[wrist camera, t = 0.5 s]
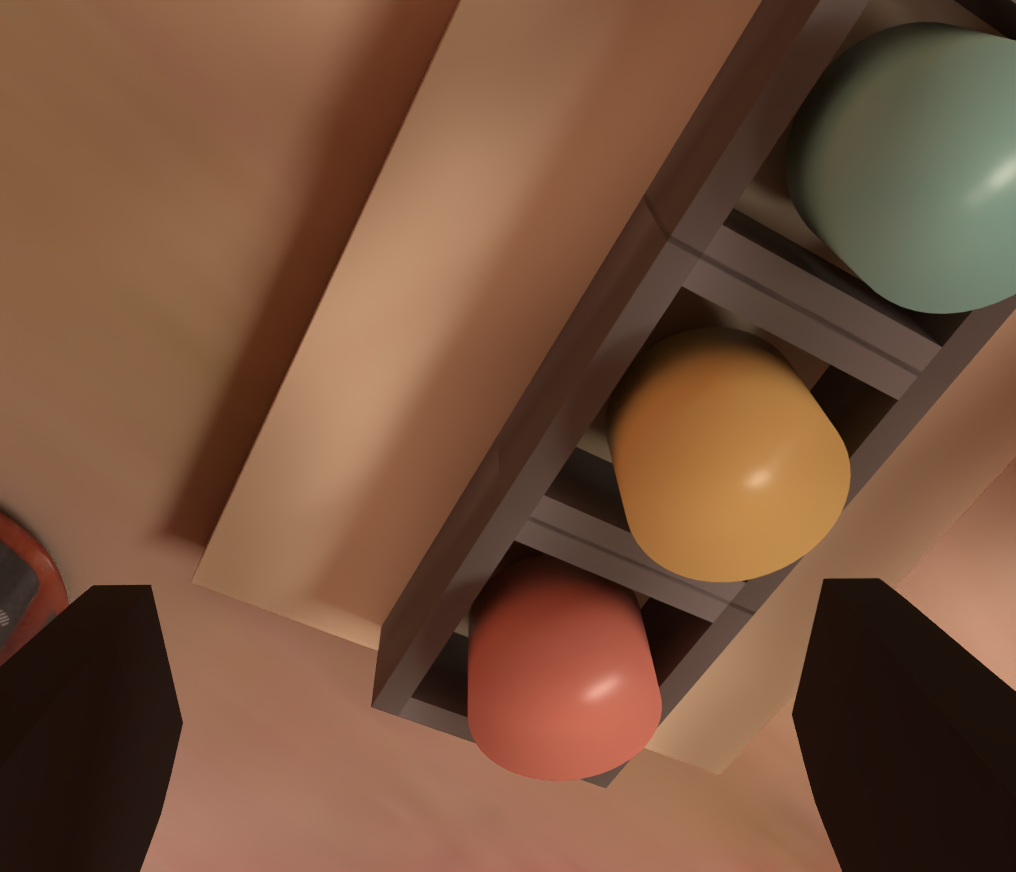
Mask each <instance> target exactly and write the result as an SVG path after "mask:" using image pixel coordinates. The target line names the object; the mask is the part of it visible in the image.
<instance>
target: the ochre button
mask: <svg viewBox="0 0 1016 872" xmlns="http://www.w3.org/2000/svg"><path fill="white" fill-rule="evenodd" d="M605 430H606V437H607V442H608V447H609V451H610V455H611V459H612V463H613V467H614V470H615V474H616V478H617V482H618V486H619V490H620V494H621V498H622V502H623V506H624V510H625V514H626V518H627V522H628V525H629V528H630V530H631V533H632V535H633V536H634V538H635V540H636V542H637V543H638V545H639V546H640V547H641V548H642V550H643V551H644V552H645V553H646V554H647V555H648V556H649V557H650V558H651V559H652V560H653V561H655V562H656V563H658V564H659V565H661V566H662V567H663V568H665V569H667V570H669V571H671V572H673V573H675V574H678V575H681V576H684V577H686V578H690V579H695V580H699V581H707V582H735V581H743V580H748V579H753V578H757V577H761V576H764V575H767V574H770V573H772V572H775V571H777V570H780V569H782V568H784V567H786V566H788V565H789V564H791V563H793V562H795V561H796V560H798V559H799V558H801V557H802V556H804V555H805V554H807V553H808V552H809V551H810V550H811V549H813V548H814V547H815V546H816V545H817V544H818V543H819V542H820V541H821V540H822V539H823V538H824V537H825V536H826V535H827V533H828V532H829V531H830V530H831V528H832V527H833V526H834V524H835V523H836V521H837V519H838V517H839V516H840V514H841V512H842V510H843V507H844V505H845V502H846V499H847V496H848V492H849V487H850V478H851V473H850V462H849V457H848V452H847V450H846V447H845V445H844V442H843V440H842V439H841V437H840V435H839V434H838V432H837V430H836V429H835V428H834V426H833V425H832V423H831V422H830V420H829V419H828V417H827V416H826V415H825V413H824V412H823V410H822V409H821V407H820V406H819V404H818V403H817V402H816V400H815V399H814V397H813V396H812V394H811V393H810V391H809V390H808V389H807V387H806V386H805V384H804V383H803V381H802V380H801V379H800V377H799V376H798V374H797V373H796V371H795V370H794V368H793V367H792V366H791V364H790V363H789V361H788V360H787V359H786V358H785V356H784V355H783V354H782V353H781V352H780V351H779V350H778V349H777V348H775V347H774V346H773V345H772V344H770V343H769V342H767V341H766V340H764V339H762V338H760V337H758V336H756V335H754V334H751V333H749V332H745V331H742V330H738V329H732V328H725V327H708V328H698V329H693V330H689V331H684V332H681V333H679V334H676V335H673V336H670V337H668V338H666V339H664V340H662V341H660V342H658V343H656V344H655V345H653V346H652V347H650V348H649V349H647V350H646V351H644V352H643V353H642V354H641V355H640V356H638V357H637V358H636V359H635V360H634V361H633V362H632V363H631V364H630V365H629V367H628V368H627V370H626V371H625V373H624V374H623V376H622V377H621V379H620V380H619V382H618V384H617V385H616V387H615V388H614V390H613V391H612V394H611V396H610V399H609V402H608V406H607V410H606V418H605Z"/></svg>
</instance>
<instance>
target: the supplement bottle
mask: <svg viewBox="0 0 1016 872" xmlns="http://www.w3.org/2000/svg"><path fill="white" fill-rule="evenodd" d="M68 606H69V604H68V597H67V592H66V588H65V585H64V583H63V580H62V577H61V575H60V573H59V571H58V569H57V567H56V565H55V563H54V562H53V560H52V558H51V557H50V555H49V554H48V552H47V551H46V550H45V549H44V547H43V546H42V545H41V544H40V543H38V541H37V540H36V539H35V538H34V537H33V536H32V535H31V534H30V533H29V532H28V531H27V530H26V529H24V528H23V527H21V526H20V525H19V524H18V523H16V522H15V521H13V520H12V519H11V518H9V517H8V516H6V515H4V514H3V513H1V512H0V666H1V665H2V664H4V663H5V662H6V661H7V660H8V659H9V658H10V657H11V656H13V655H14V654H15V653H16V652H17V651H18V650H19V649H20V648H22V647H23V646H24V645H25V644H26V643H27V642H28V641H29V640H31V639H32V638H33V637H34V636H35V635H36V634H37V633H38V632H40V631H41V630H42V629H43V628H44V627H45V626H46V625H47V624H49V623H50V622H51V621H52V620H53V619H54V618H55V617H56V616H58V615H59V614H60V613H61V612H62V611H63V610H64V609H66V608H67V607H68Z"/></svg>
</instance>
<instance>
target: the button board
mask: <svg viewBox="0 0 1016 872" xmlns="http://www.w3.org/2000/svg"><path fill="white" fill-rule="evenodd" d="M914 22H940V23H945V24H950V25H955V26H959V27H963V28H967V29H971V30H975V31H979V32H983V33H987V34H991V35H995V36H999V37H1003V38H1007V39H1011V40H1015V41H1016V0H459V1H458V3H457V5H456V8H455V10H454V12H453V14H452V16H451V18H450V21H449V23H448V25H447V27H446V29H445V31H444V34H443V36H442V38H441V40H440V42H439V44H438V46H437V49H436V51H435V53H434V55H433V57H432V59H431V62H430V64H429V66H428V68H427V70H426V72H425V75H424V77H423V79H422V81H421V83H420V85H419V88H418V90H417V92H416V94H415V96H414V98H413V100H412V103H411V105H410V107H409V109H408V111H407V113H406V116H405V118H404V120H403V122H402V124H401V126H400V129H399V131H398V133H397V135H396V137H395V139H394V141H393V144H392V146H391V148H390V150H389V152H388V154H387V157H386V159H385V161H384V163H383V165H382V167H381V170H380V172H379V174H378V176H377V178H376V180H375V183H374V185H373V187H372V189H371V191H370V193H369V195H368V198H367V200H366V202H365V204H364V206H363V208H362V211H361V213H360V215H359V217H358V219H357V221H356V224H355V226H354V228H353V230H352V232H351V234H350V236H349V239H348V241H347V243H346V245H345V247H344V249H343V252H342V254H341V256H340V258H339V260H338V262H337V265H336V267H335V269H334V271H333V273H332V275H331V277H330V280H329V282H328V284H327V286H326V288H325V290H324V293H323V295H322V297H321V299H320V301H319V303H318V306H317V308H316V310H315V312H314V314H313V316H312V319H311V321H310V323H309V325H308V327H307V329H306V331H305V334H304V336H303V338H302V340H301V342H300V344H299V347H298V349H297V351H296V353H295V355H294V357H293V360H292V362H291V364H290V366H289V368H288V370H287V372H286V375H285V377H284V379H283V381H282V383H281V385H280V388H279V390H278V392H277V394H276V396H275V398H274V401H273V403H272V405H271V407H270V409H269V411H268V414H267V416H266V418H265V420H264V422H263V424H262V426H261V429H260V431H259V433H258V435H257V437H256V439H255V442H254V444H253V446H252V448H251V450H250V452H249V455H248V457H247V459H246V461H245V463H244V465H243V467H242V470H241V472H240V474H239V476H238V478H237V480H236V483H235V485H234V487H233V489H232V491H231V493H230V496H229V498H228V500H227V502H226V504H225V506H224V508H223V511H222V513H221V515H220V517H219V519H218V521H217V524H216V526H215V528H214V530H213V532H212V534H211V537H210V539H209V541H208V543H207V545H206V547H205V550H204V552H203V554H202V557H201V559H200V562H199V564H198V566H197V569H196V571H195V574H194V576H193V578H192V581H191V583H192V584H195V585H198V586H201V587H203V588H206V589H209V590H212V591H214V592H217V593H220V594H223V595H225V596H228V597H231V598H234V599H236V600H239V601H242V602H245V603H247V604H250V605H253V606H256V607H258V608H261V609H264V610H267V611H269V612H272V613H275V614H278V615H280V616H283V617H286V618H289V619H291V620H294V621H297V622H300V623H302V624H305V625H308V626H311V627H313V628H316V629H319V630H322V631H324V632H327V633H330V634H333V635H335V636H338V637H341V638H344V639H346V640H349V641H352V642H355V643H357V644H360V645H363V646H366V647H368V648H371V649H374V650H376V651H378V656H377V664H376V672H375V680H374V688H373V696H372V704H371V707H373V708H375V709H378V710H381V711H384V712H387V713H390V714H393V715H396V716H399V717H401V718H404V719H407V720H410V721H413V722H416V723H419V724H422V725H425V726H427V727H430V728H433V729H436V730H439V731H442V732H445V733H448V734H451V735H453V736H456V737H459V738H462V739H465V740H468V741H471V742H474V743H476V742H475V741H474V739H473V737H472V735H471V732H470V729H469V724H468V618H469V613H470V609H471V606H472V603H473V602H474V600H475V599H476V597H477V596H478V594H479V593H480V591H481V590H482V588H483V587H484V585H485V584H486V583H487V582H488V581H489V580H490V579H491V578H492V577H493V576H494V575H496V574H497V573H498V572H500V571H501V570H503V569H505V568H507V567H508V566H510V565H512V564H515V563H517V562H519V561H522V560H525V559H529V558H532V557H537V556H542V555H551V556H553V557H556V558H558V559H561V560H563V561H565V562H568V563H570V564H573V565H575V566H577V567H580V568H582V569H585V570H587V571H589V572H592V573H594V574H597V575H599V576H601V577H604V578H606V579H609V580H611V581H613V582H616V583H618V584H621V585H623V586H625V587H628V588H630V589H633V591H634V593H635V595H636V597H637V600H638V602H639V607H640V611H641V615H642V619H643V623H644V628H645V632H646V636H647V640H648V644H649V649H650V653H651V657H652V661H653V665H654V670H655V674H656V678H657V682H658V686H659V691H660V695H661V700H662V712H661V718H660V722H659V724H658V727H657V729H656V731H655V733H654V735H653V737H652V738H651V739H650V741H649V742H648V743H647V745H646V746H645V747H644V748H646V749H648V750H651V751H654V752H657V753H659V754H662V755H665V756H668V757H670V758H673V759H676V760H679V761H681V762H684V763H687V764H690V765H692V766H695V767H698V768H701V769H703V770H706V771H709V772H712V773H714V774H717V775H720V774H721V773H722V772H723V771H724V770H725V768H726V767H727V766H728V765H729V764H730V763H731V762H732V761H733V760H734V759H735V758H736V757H737V756H738V755H739V753H740V752H741V751H742V750H743V749H744V748H745V747H746V746H747V745H748V744H749V743H750V742H751V741H752V740H753V738H754V737H755V736H756V735H757V734H758V733H759V732H760V731H761V730H762V729H763V728H764V727H765V726H766V724H767V723H768V722H769V721H770V720H771V719H772V718H773V717H774V716H775V715H776V714H777V713H778V712H779V711H780V709H781V708H782V707H783V706H784V705H785V704H786V703H787V702H788V701H789V700H790V699H791V698H792V697H793V696H794V694H795V693H796V692H797V690H798V686H799V682H800V678H801V673H802V669H803V665H804V660H805V656H806V652H807V647H808V643H809V639H810V635H811V630H812V626H813V622H814V617H815V613H816V609H817V604H818V600H819V596H820V591H821V587H822V583H823V579H826V578H880V579H881V580H882V581H884V582H885V583H886V584H888V585H889V586H890V587H891V588H894V587H895V586H896V585H897V584H898V583H899V582H900V581H901V580H902V579H903V578H904V576H905V575H906V574H907V573H908V572H909V571H910V570H911V569H912V568H913V567H914V566H915V565H916V564H917V563H918V561H919V560H920V559H921V558H922V557H923V556H924V555H925V554H926V553H927V552H928V551H929V550H930V549H931V548H932V546H933V545H934V544H935V543H936V542H937V541H938V540H939V539H940V538H941V537H942V536H943V535H944V534H945V532H946V531H947V530H948V529H949V528H950V527H951V526H952V525H953V524H954V523H955V522H956V521H957V520H958V519H959V517H960V516H961V515H962V514H963V513H964V512H965V511H966V510H967V509H968V508H969V507H970V506H971V505H972V504H973V502H974V501H975V500H976V499H977V498H978V497H979V496H980V495H981V494H982V493H983V492H984V491H985V490H986V489H987V487H988V486H989V485H990V484H991V483H992V482H993V481H994V480H995V479H996V478H997V477H998V476H999V475H1000V473H1001V472H1002V471H1003V470H1004V469H1005V468H1006V467H1007V466H1008V465H1009V464H1010V463H1011V462H1012V461H1013V460H1014V458H1015V457H1016V294H1015V295H1013V296H1011V297H1008V298H1006V299H1004V300H1002V301H1000V302H997V303H995V304H992V305H989V306H986V307H983V308H979V309H975V310H970V311H966V312H958V313H948V314H940V313H926V312H919V311H914V310H911V309H907V308H904V307H901V306H899V305H897V304H894V303H892V302H890V301H888V300H886V299H885V298H884V297H882V296H881V295H879V294H878V293H876V292H875V291H874V290H873V289H872V288H871V287H870V286H868V285H867V284H866V283H865V282H864V281H863V280H862V279H861V278H860V277H859V276H858V275H857V274H856V273H855V272H854V271H853V270H852V269H851V268H850V267H849V266H848V265H846V264H845V263H844V262H843V261H842V260H841V259H840V258H839V257H838V256H837V255H836V254H835V253H834V252H833V251H832V250H831V249H830V248H829V247H828V246H827V245H826V244H825V243H824V242H823V241H821V240H820V239H819V238H818V237H817V236H816V235H815V234H814V233H813V232H812V231H811V230H810V229H809V228H808V227H807V225H806V224H805V223H804V222H803V220H802V219H801V217H800V216H799V214H798V212H797V210H796V209H795V207H794V204H793V201H792V199H791V196H790V193H789V189H788V184H787V178H786V150H787V145H788V139H789V134H790V131H791V128H792V125H793V121H794V119H795V116H796V114H797V112H798V110H799V108H800V106H801V105H802V103H803V102H804V100H805V98H806V97H807V95H808V94H809V92H810V91H811V89H812V88H813V86H814V85H815V83H816V82H817V80H818V79H819V77H820V76H821V74H822V73H823V72H824V71H825V69H826V68H827V67H828V66H829V65H830V64H831V63H832V62H833V61H834V60H836V59H837V58H838V57H839V56H840V55H841V54H842V53H844V52H845V51H846V50H848V49H849V48H850V47H852V46H853V45H855V44H856V43H858V42H859V41H861V40H863V39H865V38H867V37H869V36H871V35H872V34H874V33H877V32H879V31H882V30H885V29H887V28H890V27H893V26H898V25H902V24H906V23H914ZM708 327H725V328H732V329H738V330H742V331H745V332H749V333H751V334H754V335H756V336H758V337H760V338H762V339H764V340H766V341H767V342H769V343H770V344H772V345H773V346H774V347H775V348H777V349H778V350H779V351H780V352H781V353H782V354H783V355H784V356H785V358H786V359H787V360H788V361H789V363H790V364H791V366H792V367H793V368H794V370H795V371H796V373H797V374H798V376H799V377H800V379H801V380H802V381H803V383H804V384H805V386H806V387H807V389H808V390H809V391H810V393H811V394H812V396H813V397H814V399H815V400H816V402H817V403H818V404H819V406H820V407H821V409H822V410H823V412H824V413H825V415H826V416H827V417H828V419H829V420H830V422H831V423H832V425H833V426H834V428H835V429H836V430H837V432H838V434H839V435H840V437H841V439H842V440H843V442H844V445H845V447H846V450H847V452H848V457H849V462H850V473H851V478H850V487H849V492H848V496H847V499H846V502H845V505H844V507H843V510H842V512H841V514H840V516H839V517H838V519H837V521H836V523H835V524H834V526H833V527H832V528H831V530H830V531H829V532H828V533H827V535H826V536H825V537H824V538H823V539H822V540H821V541H820V542H819V543H818V544H817V545H816V546H815V547H814V548H813V549H811V550H810V551H809V552H808V553H807V554H805V555H804V556H802V557H801V558H799V559H798V560H796V561H795V562H793V563H791V564H789V565H788V566H786V567H784V568H782V569H780V570H777V571H775V572H772V573H770V574H767V575H764V576H761V577H757V578H753V579H748V580H743V581H735V582H707V581H699V580H695V579H690V578H686V577H684V576H681V575H678V574H675V573H673V572H671V571H669V570H667V569H665V568H663V567H662V566H661V565H659V564H658V563H656V562H655V561H653V560H652V559H651V558H650V557H649V556H648V555H647V554H646V553H645V552H644V551H643V550H642V548H641V547H640V546H639V545H638V543H637V542H636V540H635V538H634V536H633V535H632V533H631V530H630V528H629V525H628V522H627V518H626V514H625V510H624V506H623V502H622V498H621V494H620V490H619V486H618V482H617V478H616V474H615V470H614V467H613V463H612V459H611V455H610V451H609V447H608V442H607V437H606V430H605V418H606V410H607V406H608V402H609V399H610V396H611V394H612V391H613V390H614V388H615V387H616V385H617V384H618V382H619V380H620V379H621V377H622V376H623V374H624V373H625V371H626V370H627V368H628V367H629V365H630V364H631V363H632V362H633V361H634V360H635V359H636V358H637V357H638V356H640V355H641V354H642V353H643V352H644V351H646V350H647V349H649V348H650V347H652V346H653V345H655V344H656V343H658V342H660V341H662V340H664V339H666V338H668V337H670V336H673V335H676V334H679V333H681V332H684V331H689V330H693V329H698V328H708ZM629 761H630V760H628V761H627V762H625V763H624V764H622V765H620V766H618V767H616V768H614V769H612V770H610V771H607V772H604V773H602V774H599V775H595V776H591V777H587V778H582V779H581V780H584V781H586V782H589V783H592V784H595V785H598V786H601V787H604V788H606V787H607V786H608V785H609V784H610V783H611V782H612V780H613V779H614V778H615V777H616V776H617V775H618V773H619V772H620V771H621V770H622V769H623V768H624V766H625V765H626V764H627V763H628V762H629Z"/></svg>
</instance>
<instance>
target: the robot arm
mask: <svg viewBox="0 0 1016 872" xmlns="http://www.w3.org/2000/svg"><path fill="white" fill-rule="evenodd" d="M792 717H793V721H794V725H795V729H796V732H797V736H798V740H799V744H800V748H801V752H802V756H803V760H804V764H805V768H806V771H807V775H808V778H809V782H810V786H811V789H812V793H813V796H814V800H815V803H816V806H817V809H818V811H819V814H820V816H821V819H822V822H823V824H824V827H825V829H826V832H827V834H828V837H829V839H830V842H831V844H832V847H833V849H834V852H835V854H836V857H837V859H838V862H839V864H840V867H841V869H842V872H1016V691H1015V690H1013V689H1012V688H1011V687H1010V686H1008V685H1007V684H1006V683H1005V682H1004V681H1002V680H1001V679H1000V678H999V677H998V676H996V675H995V674H994V673H993V672H992V671H990V670H989V669H988V668H987V667H986V666H984V665H983V664H982V663H981V662H980V661H978V660H977V659H976V658H975V657H974V656H973V655H971V654H970V653H969V652H968V651H967V650H965V649H964V648H963V647H962V646H961V645H960V644H958V643H957V642H956V641H955V640H954V639H952V638H951V637H950V636H949V635H948V634H947V633H945V632H944V631H943V630H942V629H941V628H939V627H938V626H937V625H936V624H935V623H934V622H932V621H931V620H930V619H929V618H928V617H926V616H925V615H924V614H923V613H922V612H921V611H919V610H918V609H917V608H916V607H915V606H913V605H912V604H911V603H910V602H909V601H907V600H906V599H905V598H904V597H903V596H901V595H900V594H899V593H898V592H896V591H895V590H894V589H893V588H891V587H890V586H889V585H888V584H886V583H885V582H884V581H882V580H881V579H880V578H826V579H823V583H822V587H821V591H820V596H819V600H818V604H817V609H816V613H815V617H814V622H813V626H812V630H811V635H810V639H809V643H808V647H807V652H806V656H805V660H804V665H803V669H802V673H801V678H800V682H799V686H798V690H797V695H796V699H795V703H794V708H793V712H792ZM182 725H183V721H182V717H181V713H180V708H179V704H178V700H177V695H176V691H175V687H174V683H173V678H172V674H171V670H170V665H169V661H168V657H167V652H166V648H165V644H164V639H163V635H162V631H161V626H160V622H159V618H158V614H157V609H156V605H155V601H154V596H153V592H152V588H151V585H93V586H92V587H90V588H89V589H88V590H87V591H86V592H84V593H83V594H82V595H81V596H80V597H78V598H77V599H76V600H75V601H74V602H73V603H71V604H70V605H69V606H68V607H67V608H66V609H64V610H63V611H62V612H61V613H60V614H59V615H58V616H56V617H55V618H54V619H53V620H52V621H51V622H50V623H49V624H47V625H46V626H45V627H44V628H43V629H42V630H41V631H40V632H38V633H37V634H36V635H35V636H34V637H33V638H32V639H31V640H29V641H28V642H27V643H26V644H25V645H24V646H23V647H22V648H20V649H19V650H18V651H17V652H16V653H15V654H14V655H13V656H11V657H10V658H9V659H8V660H7V661H6V662H5V663H4V664H2V665H1V666H0V872H140V870H141V867H142V864H143V862H144V859H145V856H146V854H147V851H148V848H149V846H150V843H151V840H152V837H153V835H154V832H155V829H156V826H157V824H158V821H159V818H160V815H161V812H162V808H163V804H164V800H165V796H166V792H167V788H168V784H169V781H170V777H171V773H172V768H173V764H174V760H175V755H176V751H177V747H178V742H179V738H180V733H181V729H182Z"/></svg>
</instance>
